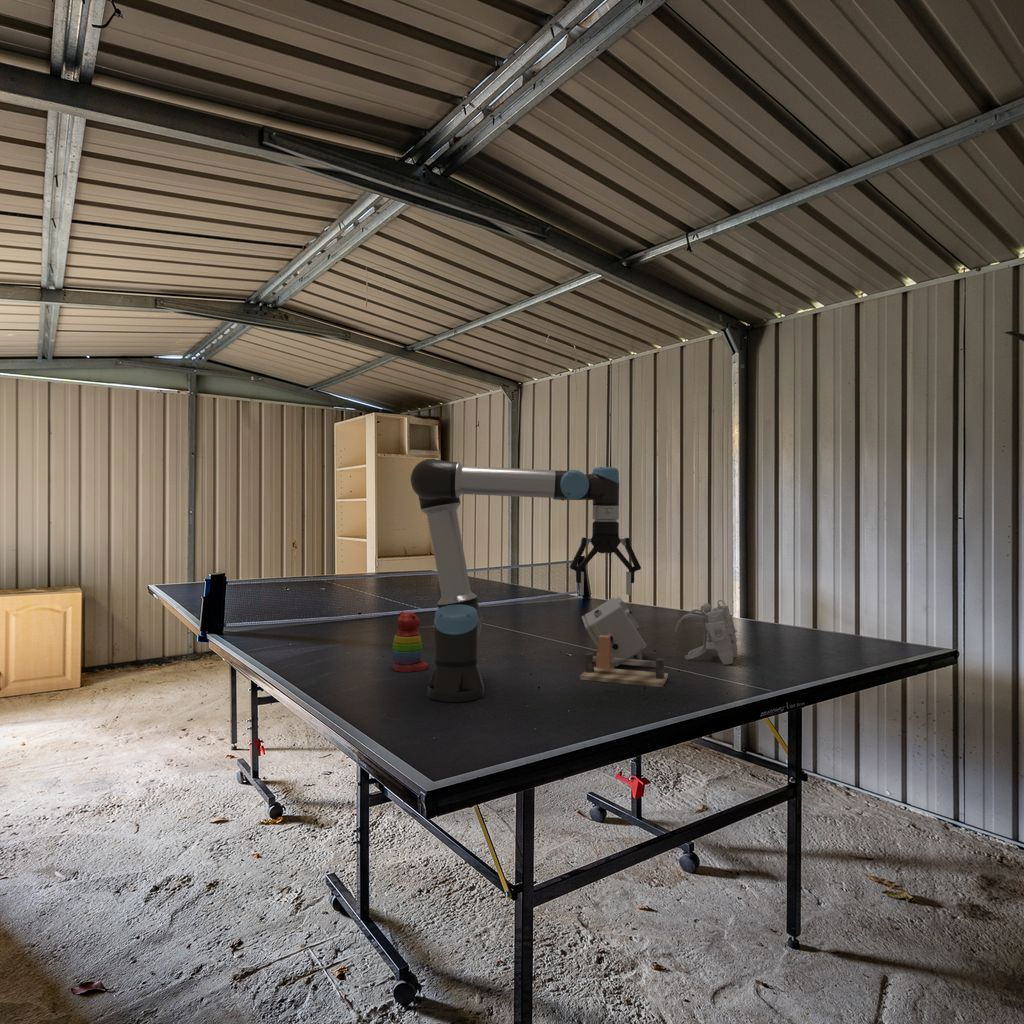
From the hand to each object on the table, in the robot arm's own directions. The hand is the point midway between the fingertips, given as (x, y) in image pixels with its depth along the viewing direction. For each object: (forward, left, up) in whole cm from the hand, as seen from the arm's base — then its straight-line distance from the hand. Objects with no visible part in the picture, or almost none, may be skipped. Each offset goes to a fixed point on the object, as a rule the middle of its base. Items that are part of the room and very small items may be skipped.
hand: (605, 594), depth 189 cm
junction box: (-4, +29, -26) cm, 39 cm away
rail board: (+4, +8, -26) cm, 27 cm away
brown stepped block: (-2, +8, -23) cm, 24 cm away
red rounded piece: (-62, -4, -26) cm, 67 cm away
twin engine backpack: (+25, +44, -26) cm, 57 cm away
